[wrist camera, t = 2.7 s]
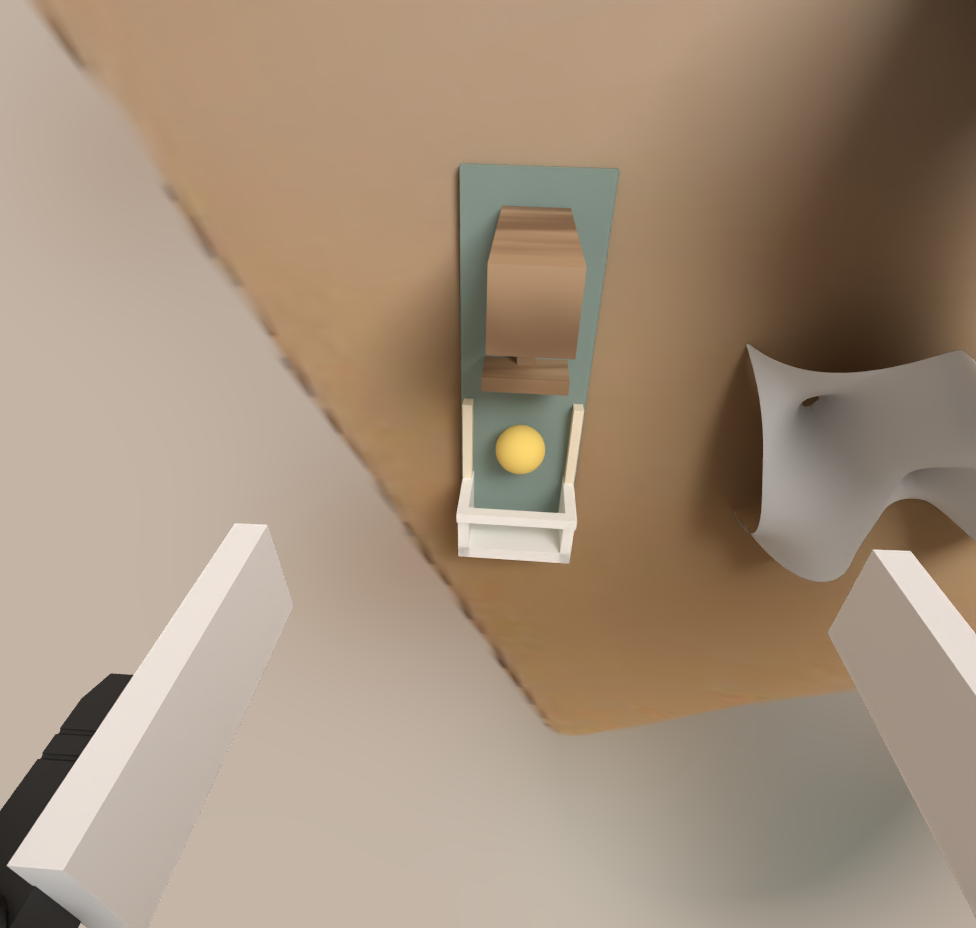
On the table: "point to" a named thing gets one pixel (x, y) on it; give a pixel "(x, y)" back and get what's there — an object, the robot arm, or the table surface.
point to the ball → (520, 449)
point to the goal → (516, 529)
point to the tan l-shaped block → (533, 301)
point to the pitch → (500, 410)
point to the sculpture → (860, 454)
